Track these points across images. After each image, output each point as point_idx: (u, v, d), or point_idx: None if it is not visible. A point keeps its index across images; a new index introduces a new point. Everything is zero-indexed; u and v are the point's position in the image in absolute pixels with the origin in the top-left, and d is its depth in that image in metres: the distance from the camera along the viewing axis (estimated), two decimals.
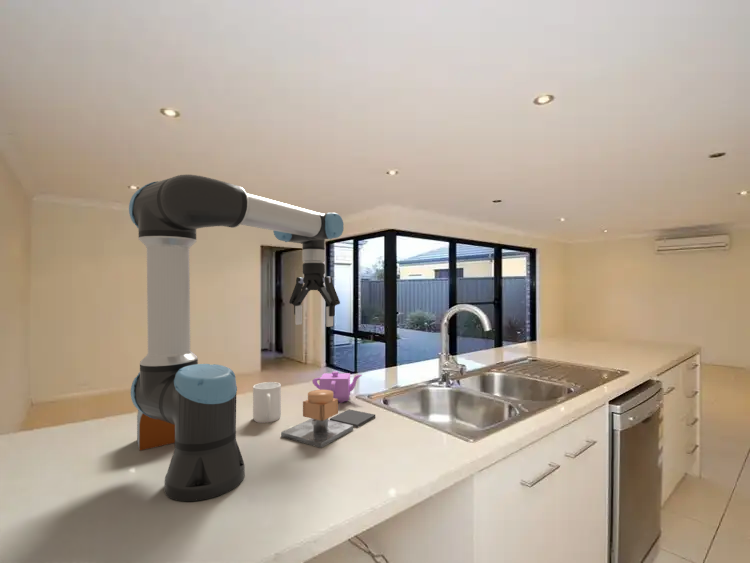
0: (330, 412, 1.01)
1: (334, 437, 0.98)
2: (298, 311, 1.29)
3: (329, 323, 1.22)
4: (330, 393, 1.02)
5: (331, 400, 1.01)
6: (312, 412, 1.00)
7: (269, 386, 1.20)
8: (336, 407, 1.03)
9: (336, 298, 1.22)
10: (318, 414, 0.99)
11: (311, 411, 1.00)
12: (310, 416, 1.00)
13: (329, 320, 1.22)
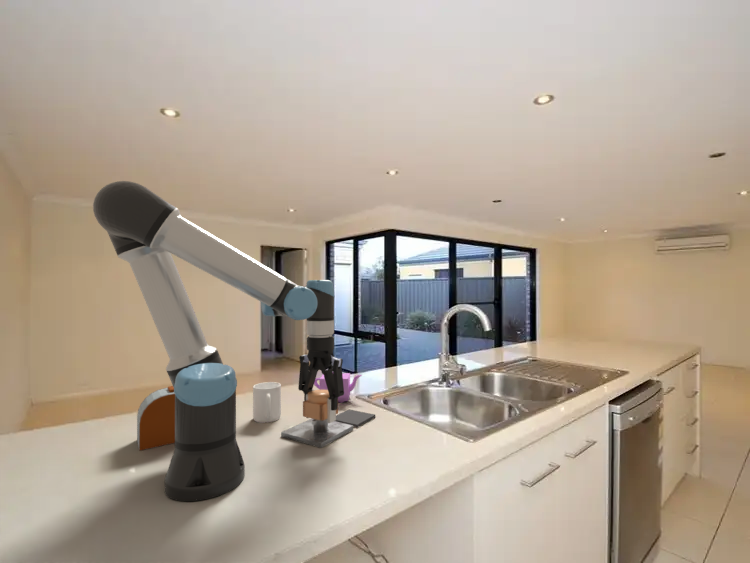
0: None
1: (334, 437, 0.98)
2: None
3: (331, 418, 1.00)
4: None
5: None
6: (312, 412, 1.00)
7: (269, 386, 1.20)
8: None
9: (341, 389, 0.99)
10: (318, 414, 0.99)
11: (311, 411, 1.00)
12: (310, 416, 1.00)
13: (331, 415, 1.00)
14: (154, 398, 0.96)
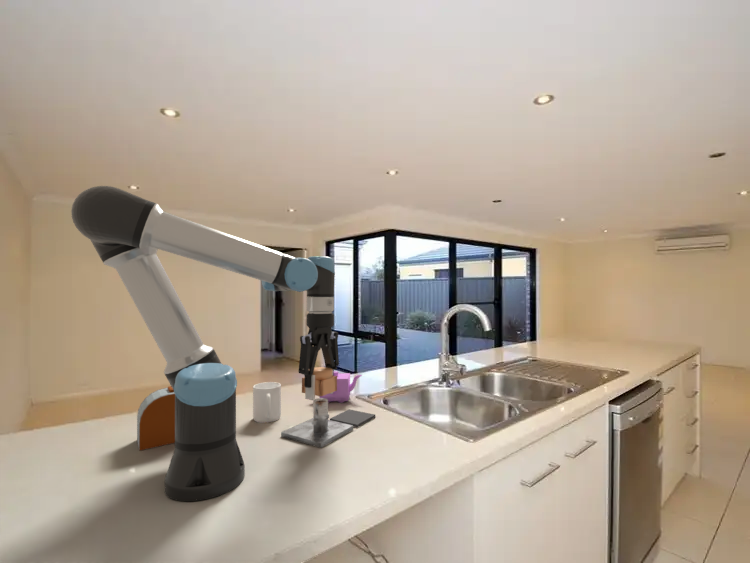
0: None
1: (334, 437, 0.98)
2: None
3: (307, 395, 1.00)
4: (316, 371, 1.00)
5: None
6: None
7: (269, 386, 1.20)
8: (319, 389, 0.99)
9: (302, 367, 0.97)
10: None
11: None
12: None
13: (307, 391, 1.00)
14: (154, 398, 0.96)
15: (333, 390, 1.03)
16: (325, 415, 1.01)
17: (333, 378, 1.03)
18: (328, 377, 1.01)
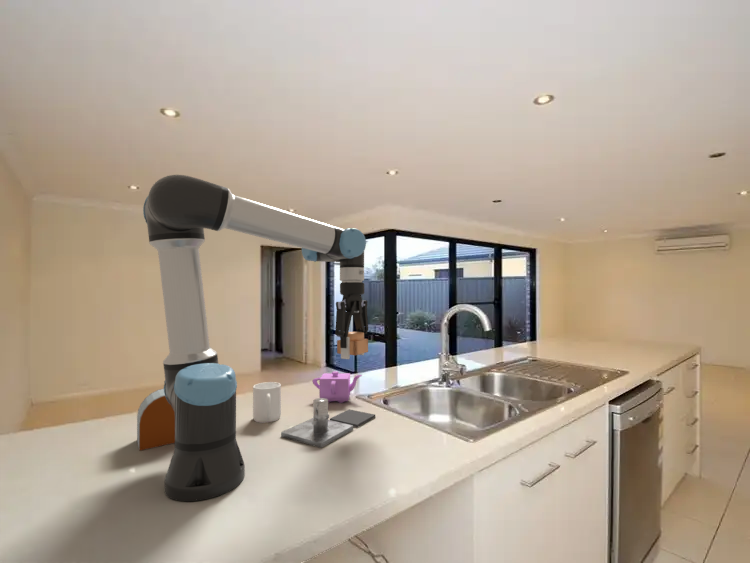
0: None
1: (334, 437, 0.98)
2: None
3: (342, 355, 1.11)
4: (350, 334, 1.12)
5: None
6: None
7: (269, 386, 1.20)
8: (353, 348, 1.10)
9: (338, 329, 1.09)
10: None
11: None
12: None
13: (342, 352, 1.11)
14: (154, 398, 0.96)
15: (365, 351, 1.14)
16: (325, 415, 1.01)
17: (365, 340, 1.14)
18: (361, 339, 1.12)
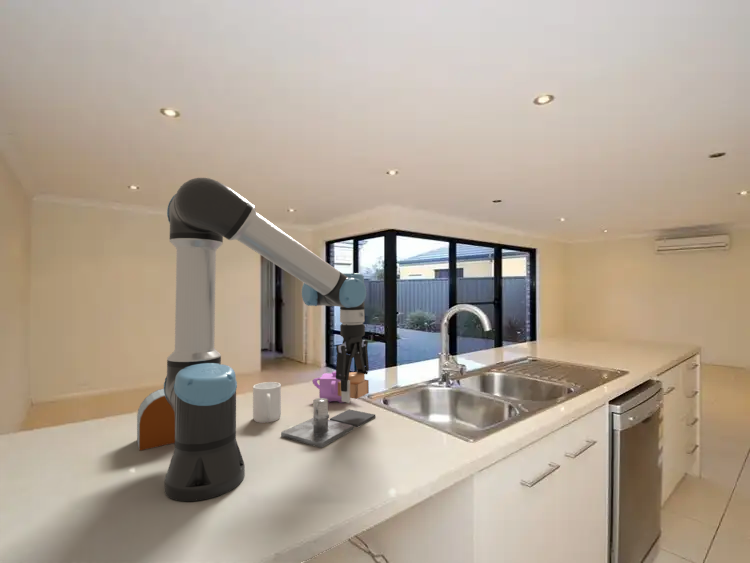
0: None
1: (334, 437, 0.98)
2: None
3: (343, 398, 1.11)
4: (350, 376, 1.12)
5: None
6: None
7: (269, 386, 1.20)
8: (354, 392, 1.10)
9: (339, 373, 1.08)
10: None
11: None
12: None
13: (343, 395, 1.11)
14: (154, 398, 0.96)
15: (365, 393, 1.14)
16: (325, 415, 1.01)
17: (365, 382, 1.14)
18: (361, 381, 1.12)
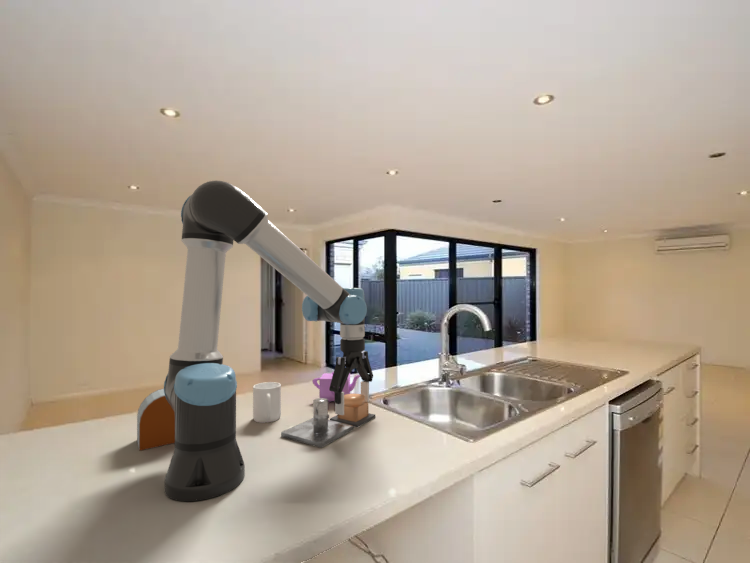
0: (346, 415, 1.11)
1: (334, 437, 0.98)
2: (362, 387, 1.20)
3: (337, 410, 1.09)
4: (350, 399, 1.12)
5: (347, 405, 1.11)
6: None
7: (269, 386, 1.20)
8: (354, 415, 1.10)
9: (334, 384, 1.06)
10: None
11: None
12: None
13: (337, 407, 1.09)
14: (154, 398, 0.96)
15: (365, 415, 1.14)
16: (325, 415, 1.01)
17: (365, 404, 1.14)
18: (361, 404, 1.12)
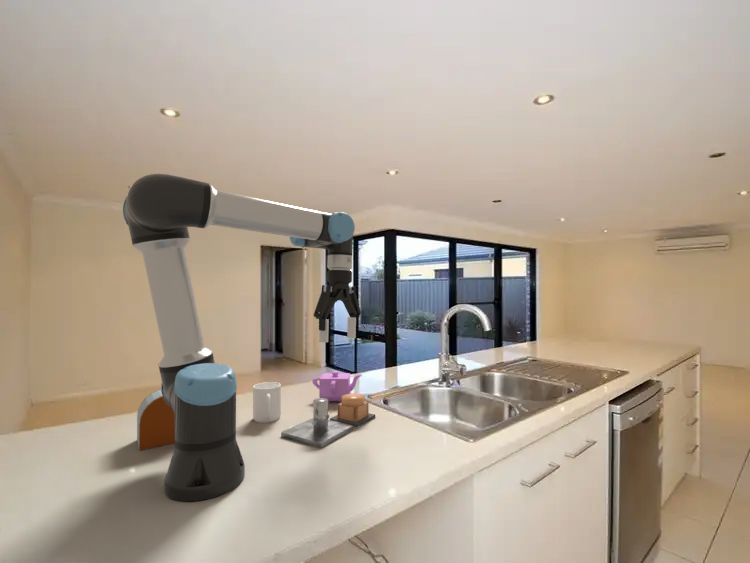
0: (346, 415, 1.11)
1: (334, 437, 0.98)
2: (349, 323, 1.19)
3: (321, 338, 1.07)
4: (350, 399, 1.12)
5: (347, 405, 1.11)
6: None
7: (269, 386, 1.20)
8: (354, 415, 1.10)
9: (318, 310, 1.05)
10: None
11: None
12: None
13: (321, 335, 1.07)
14: (154, 398, 0.96)
15: (365, 415, 1.14)
16: (325, 415, 1.01)
17: (365, 404, 1.14)
18: (361, 404, 1.12)
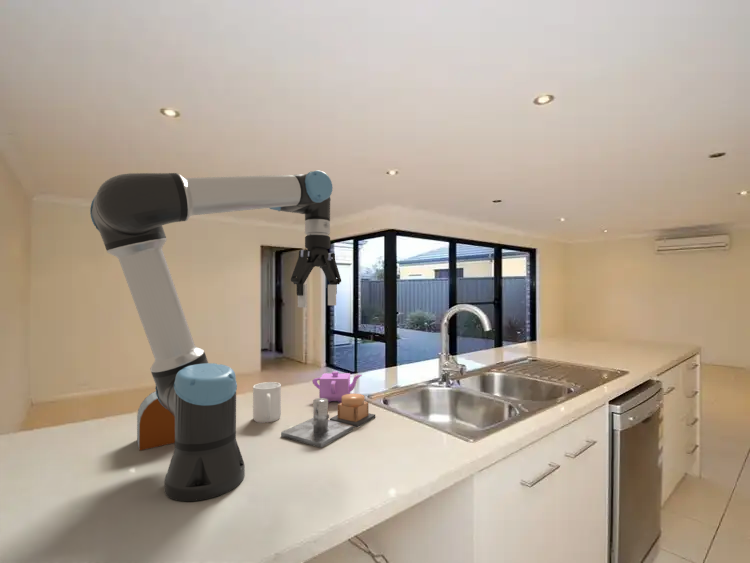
0: (346, 415, 1.11)
1: (334, 437, 0.98)
2: (329, 290, 1.18)
3: (299, 303, 1.06)
4: (350, 399, 1.12)
5: (347, 405, 1.11)
6: None
7: (269, 386, 1.20)
8: (354, 415, 1.10)
9: (295, 274, 1.04)
10: None
11: None
12: None
13: (299, 300, 1.06)
14: (154, 398, 0.96)
15: (365, 415, 1.14)
16: (325, 415, 1.01)
17: (365, 404, 1.14)
18: (361, 404, 1.12)
